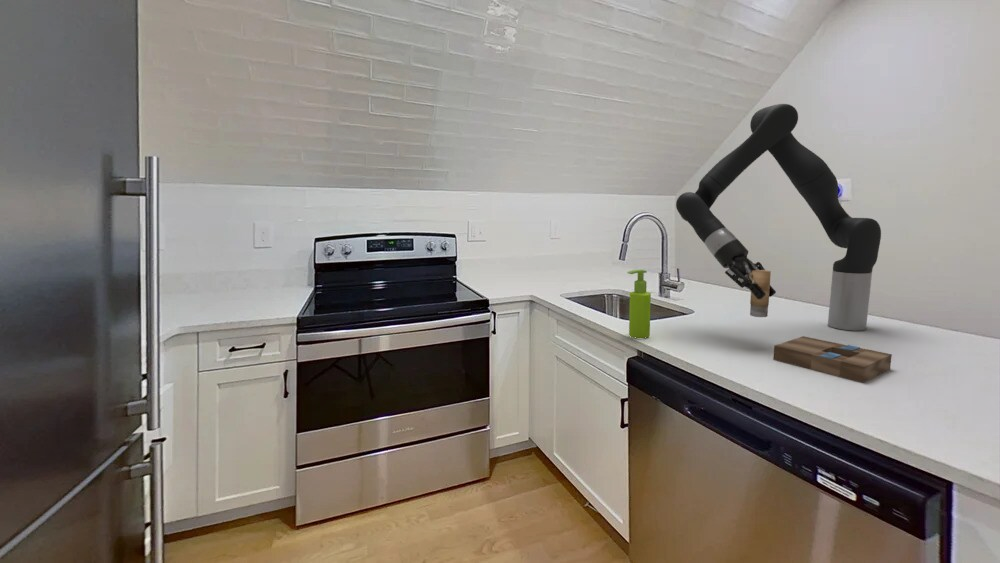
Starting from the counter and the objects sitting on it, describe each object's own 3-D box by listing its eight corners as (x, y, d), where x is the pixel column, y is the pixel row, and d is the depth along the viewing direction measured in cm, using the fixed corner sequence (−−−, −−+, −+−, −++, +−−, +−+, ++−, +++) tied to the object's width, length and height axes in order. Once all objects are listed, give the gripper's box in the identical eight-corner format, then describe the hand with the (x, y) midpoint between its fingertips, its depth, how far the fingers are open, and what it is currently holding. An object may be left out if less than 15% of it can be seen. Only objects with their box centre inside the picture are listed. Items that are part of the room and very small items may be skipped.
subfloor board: (802, 349, 113) (803, 335, 112) (890, 369, 97) (891, 353, 97) (773, 359, 106) (774, 344, 105) (862, 382, 90) (864, 365, 90)
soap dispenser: (622, 334, 130) (623, 269, 127) (641, 332, 132) (643, 268, 129) (633, 340, 125) (634, 272, 122) (653, 337, 127) (655, 270, 124)
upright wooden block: (755, 312, 118) (757, 269, 116) (771, 315, 114) (774, 271, 112) (746, 315, 116) (748, 271, 114) (762, 318, 112) (765, 272, 110)
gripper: (719, 240, 115) (763, 291, 106) (750, 237, 122) (793, 284, 113) (700, 258, 120) (741, 308, 112) (731, 254, 127) (771, 300, 119)
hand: (767, 295), depth 112 cm, fingers closed on upright wooden block, 4 cm apart
